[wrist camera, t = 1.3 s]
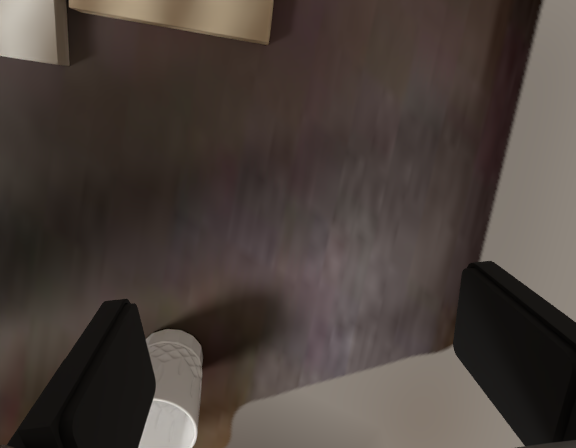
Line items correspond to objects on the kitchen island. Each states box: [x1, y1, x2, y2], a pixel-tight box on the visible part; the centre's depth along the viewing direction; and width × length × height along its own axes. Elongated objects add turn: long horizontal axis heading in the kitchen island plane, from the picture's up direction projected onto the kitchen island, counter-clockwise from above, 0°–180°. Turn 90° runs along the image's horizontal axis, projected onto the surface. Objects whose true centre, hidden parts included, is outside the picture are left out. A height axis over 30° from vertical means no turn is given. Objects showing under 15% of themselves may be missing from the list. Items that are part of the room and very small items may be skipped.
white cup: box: [138, 329, 203, 448], centre depth 35 cm, size 8×8×10 cm
